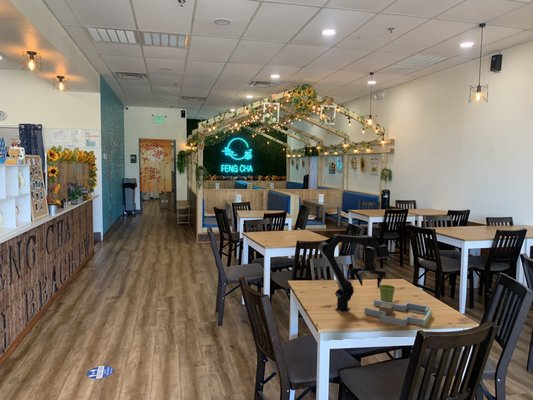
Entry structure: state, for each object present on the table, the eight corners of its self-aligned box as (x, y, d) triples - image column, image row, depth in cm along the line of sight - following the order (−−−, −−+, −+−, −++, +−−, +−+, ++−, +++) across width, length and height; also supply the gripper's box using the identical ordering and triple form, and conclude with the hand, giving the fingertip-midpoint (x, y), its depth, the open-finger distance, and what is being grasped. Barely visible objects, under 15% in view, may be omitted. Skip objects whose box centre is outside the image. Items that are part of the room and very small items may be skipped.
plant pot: (380, 297, 235) (381, 283, 234) (396, 300, 230) (397, 286, 229) (376, 302, 227) (376, 287, 226) (393, 305, 222) (393, 290, 221)
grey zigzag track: (422, 330, 186) (422, 324, 186) (360, 317, 202) (360, 311, 202) (433, 312, 211) (433, 307, 210) (377, 302, 227) (377, 297, 226)
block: (390, 315, 205) (390, 308, 205) (378, 313, 209) (379, 306, 208) (393, 312, 211) (393, 305, 210) (382, 310, 214) (382, 303, 213)
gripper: (391, 257, 216) (391, 285, 217) (358, 254, 226) (358, 281, 227) (384, 261, 206) (385, 290, 208) (351, 258, 217) (351, 286, 218)
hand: (369, 286), depth 215 cm, fingers open, 9 cm apart
